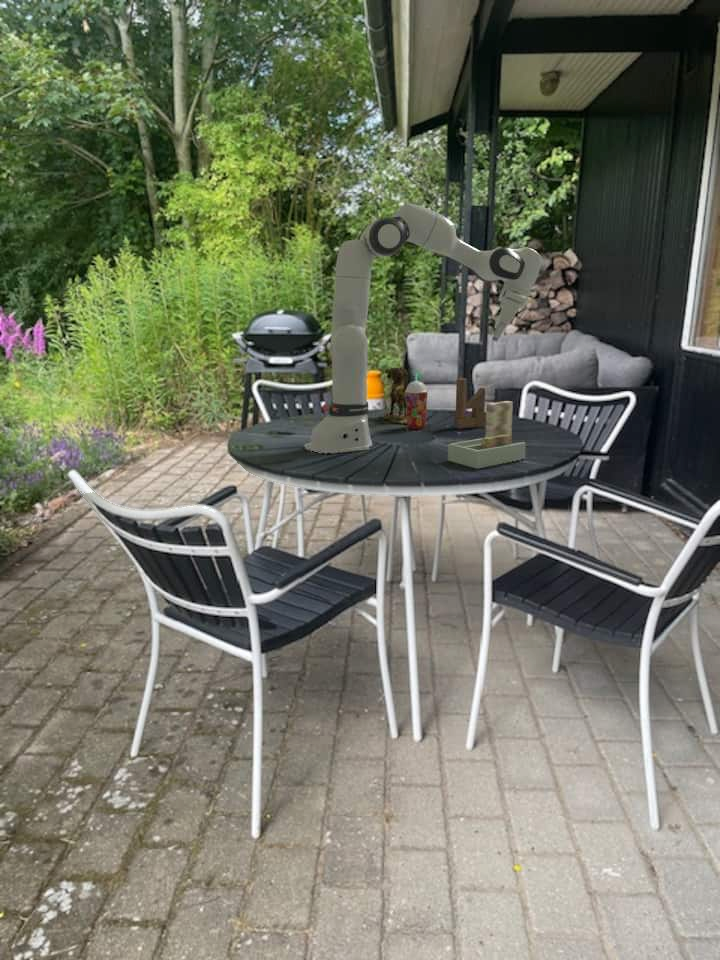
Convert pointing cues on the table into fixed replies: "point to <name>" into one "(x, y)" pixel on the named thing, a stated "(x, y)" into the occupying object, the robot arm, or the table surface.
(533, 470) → the table surface
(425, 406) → the smoothie
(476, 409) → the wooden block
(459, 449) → the rack
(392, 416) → the figurine
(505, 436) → the offcut stack
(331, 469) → the table surface
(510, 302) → the robot arm
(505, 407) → the beige brown rectangular slab
